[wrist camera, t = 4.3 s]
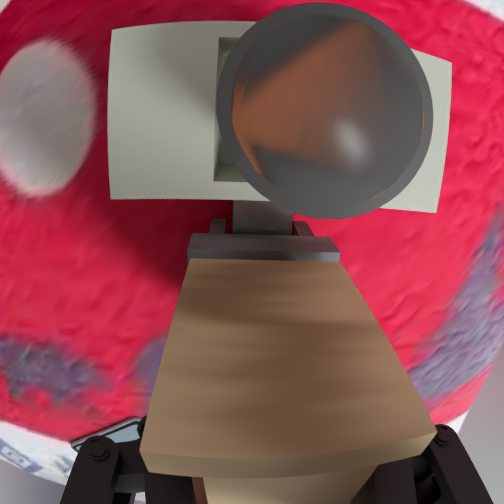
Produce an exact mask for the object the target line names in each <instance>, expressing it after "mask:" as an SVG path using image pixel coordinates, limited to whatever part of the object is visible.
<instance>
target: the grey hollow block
mask: <svg viewBox="0 0 504 504" xmlns="http://www.w3.org/2000/svg"><path fill="white" fill-rule="evenodd" d="M255 23H256V22H250V21H189V22H173V23H160V24H150V25H141V26H134V27H126V28H120V29H114V30H112V36H111V47H110V60H109V78H108V164H109V183H110V197H111V199H217V200H253V201H270V200H268V199H267V198H265V197H264V196H263V195H261V194H260V193H259V192H258V191H256V190H255V189H254V188H253V187H252V186H251V185H250V184H249V183H248V182H247V181H246V180H245V178H244V177H243V176H242V175H241V174H240V172H239V171H238V170H237V168H236V166H235V165H234V163H233V162H232V160H231V159H230V157H229V154H228V152H227V150H226V148H225V146H224V143H223V140H222V137H221V134H220V131H219V125H218V120H217V108H216V97H217V88H218V82H219V79H220V75H221V71H222V68H223V66H224V64H225V61H226V59H227V57H228V55H229V53H230V52H231V50H232V48H233V47H234V45H235V44H236V42H237V41H238V40H239V39H240V38H241V36H242V35H243V34H244V33H245V32H246V31H247V30H248V29H249V28H251V27H252V26H253V25H254V24H255ZM411 50H412V52H413V53H414V55H415V56H416V58H417V59H418V61H419V63H420V65H421V67H422V69H423V71H424V73H425V76H426V78H427V81H428V84H429V87H430V92H431V97H432V103H433V130H432V137H431V141H430V145H429V148H428V152H427V154H426V157H425V159H424V161H423V164H422V165H421V167H420V169H419V171H418V172H417V174H416V175H415V177H414V178H413V179H412V181H411V182H410V183H409V185H408V186H407V187H406V188H405V189H404V190H403V191H402V192H401V193H400V194H398V195H397V196H396V197H395V198H393V199H392V200H391V201H389V202H388V203H386V204H384V205H383V206H381V207H379V208H388V209H400V210H410V211H421V212H431V213H436V211H437V206H438V201H439V195H440V189H441V183H442V177H443V170H444V163H445V156H446V148H447V139H448V129H449V117H450V103H451V79H452V63H451V62H448V61H446V60H443V59H440V58H437V57H434V56H431V55H429V54H426V53H422V52H419V51H416V50H413V49H411Z"/></svg>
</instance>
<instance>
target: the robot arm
mask: <svg viewBox="0 0 504 504" xmlns="http://www.w3.org/2000/svg"><path fill="white" fill-rule="evenodd" d="M146 419H147V415H146V416H144V417H143V418H142V419H141V420H140V421H139V423H138V426H137V432H138V435H139V437H140V438H138V439H136V440H132V441H126V442H117V443H115V442H114V441H113V440H112V439H111V438H108V437H106V436H99V435H96V436H93V437H89V438H88V439H86V440H85V441H84V442H83V443H82V445H81V446H80V449H79V452H78V454H77V457H76V459H75V462H74V465H73V467H72V470H71V473H70V476H69V478H68V481H67V484H66V487H65V490H64V493H63V496H62V499H61V502H60V504H134V499H135V495H136V493H138V492H145V497H146V504H197V503H196V498H195V493H194V488H193V482H192V477H190V476H179V475H169V474H160V473H153V472H149V471H148V469H147V467H146V465H145V463H144V460H143V458H142V456H141V454H140V451H139V450H140V445H141V440H142V436H143V432H144V427H145V423H146ZM435 427H436V429H437V431H438V432H437V433H436V435H435V436H434V438H433V439H432V440H431V442H430V443H429V444H428V446H427V447H426V448H425V449H424V451H423V452H422V453H421V454H420V455H417V456H413V457H409V458H405V459H401V460H397V461H393V462H388V463H384V464H379V465H378V466H377V468H376V469H375V470H374V472H373V473H372V474H371V476H370V477H369V478H368V480H367V481H366V482H365V484H364V485H363V486H362V488H361V489H360V490H359V491H358V493H357V494H356V495H355V496H354V498H353V499H352V500H351V501H350V504H493V502H492V500H491V498H490V496H489V494H488V492H487V490H486V488H485V486H484V484H483V482H482V480H481V478H480V476H479V474H478V472H477V470H476V468H475V467H474V465H473V463H472V461H471V459H470V457H469V455H468V454H467V452H466V450H465V448H464V446H463V445H462V443H461V441H460V439H459V437H458V436H457V434H456V432H455V431H454V430H453V429H452V428H450V427H449V426H447V425H443V424H438V425H435Z"/></svg>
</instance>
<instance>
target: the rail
mask: <svg viewBox="0 0 504 504" xmlns="http://www.w3.org/2000/svg"><path fill="white" fill-rule="evenodd" d="M292 213H293V212H291V211H289V210H286V209H284V208H282V207H280V206H278V205H276V204H274V203H273V202H271V201H253V200H233V231H232V234H255V235H288V236H290V235H291V224H292Z"/></svg>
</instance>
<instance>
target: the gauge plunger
mask: <svg viewBox="0 0 504 504" xmlns="http://www.w3.org/2000/svg"><path fill="white" fill-rule="evenodd" d="M216 108H217V120H218V125H219V131H220V134H221V137H222V140H223V143H224V146H225V148H226V150H227V152H228V154H229V157H230V159H231V160H232V162H233V163H234V165H235V166H236V168H237V170H238V171H239V172H240V174H241V175H242V176H243V177H244V178H245V180H246V181H247V182H248V183H249V184H250V185H251V186H252V187H253V188H254V189H255V190H256V191H258V192H259V193H260V194H261V195H263V196H264V197H265V198H267V199H268V200H270V201H271V202H273V203H274V204H276V205H278V206H280V207H282V208H284V209H286V210H289V211H291V212H294V213H296V214H299V215H303V216H307V217H312V218H320V219H343V218H350V217H355V216H359V215H362V214H366V213H368V212H370V211H373V210H375V209H378V208H379V207H381V206H383V205H384V204H386V203H388V202H389V201H391V200H392V199H393V198H395V197H396V196H397V195H398V194H400V193H401V192H402V191H403V190H404V189H405V188H406V187H407V186H408V185H409V183H410V182H411V181H412V179H413V178H414V177H415V175H416V174H417V172H418V171H419V169H420V167H421V165H422V164H423V161H424V159H425V157H426V154H427V152H428V148H429V145H430V141H431V137H432V130H433V103H432V97H431V92H430V87H429V84H428V81H427V78H426V76H425V73H424V71H423V69H422V67H421V65H420V63H419V61H418V59H417V58H416V56H415V55H414V53H413V52H412V50H411V49H410V48H409V46H408V45H407V44H406V43H405V42H404V40H403V39H402V38H401V37H400V36H399V35H398V34H396V33H395V32H394V31H393V30H392V29H391V28H390V27H388V26H387V25H386V24H384V23H383V22H381V21H380V20H378V19H376V18H375V17H373V16H371V15H369V14H367V13H365V12H363V11H360V10H358V9H355V8H352V7H348V6H344V5H341V4H334V3H326V2H312V3H303V4H297V5H293V6H289V7H286V8H282V9H280V10H278V11H276V12H273V13H271V14H269V15H267V16H266V17H264V18H263V19H261V20H259V21H258V22H256V23H255V24H254V25H253V26H252V27H251V28H249V29H248V30H247V31H246V32H245V33H244V34H243V35H242V36H241V38H240V39H239V40H238V41H237V42H236V44H235V45H234V47H233V48H232V50H231V52H230V53H229V55H228V57H227V59H226V61H225V64H224V66H223V68H222V71H221V75H220V79H219V82H218V88H217V97H216Z"/></svg>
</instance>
